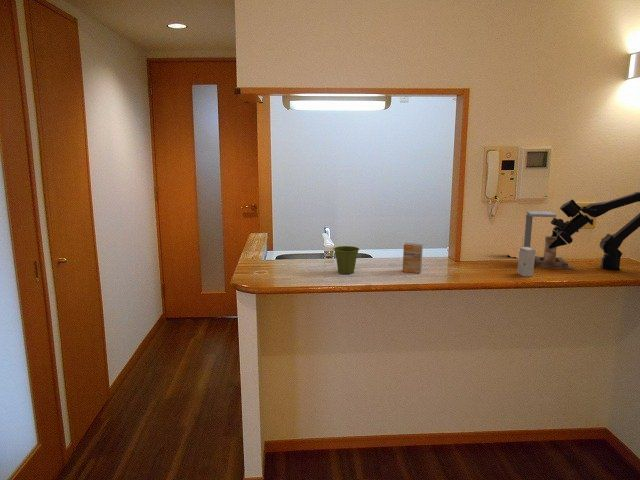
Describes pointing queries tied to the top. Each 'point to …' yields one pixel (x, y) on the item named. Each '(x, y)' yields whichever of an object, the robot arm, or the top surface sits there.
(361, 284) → the top surface
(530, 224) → the grey l-shaped rod
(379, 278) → the top surface
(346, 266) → the plant pot
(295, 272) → the top surface
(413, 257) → the supplement box
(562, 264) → the tan flat wooden frame
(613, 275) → the top surface
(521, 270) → the skincare box
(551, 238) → the peg
